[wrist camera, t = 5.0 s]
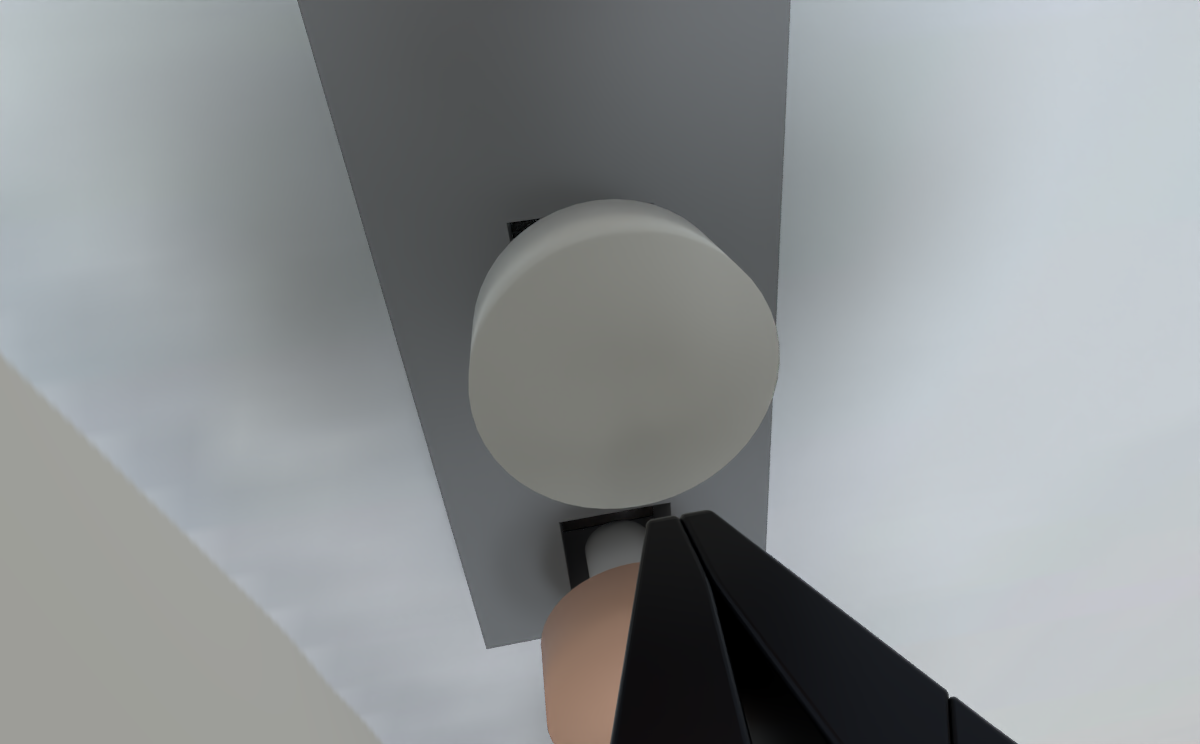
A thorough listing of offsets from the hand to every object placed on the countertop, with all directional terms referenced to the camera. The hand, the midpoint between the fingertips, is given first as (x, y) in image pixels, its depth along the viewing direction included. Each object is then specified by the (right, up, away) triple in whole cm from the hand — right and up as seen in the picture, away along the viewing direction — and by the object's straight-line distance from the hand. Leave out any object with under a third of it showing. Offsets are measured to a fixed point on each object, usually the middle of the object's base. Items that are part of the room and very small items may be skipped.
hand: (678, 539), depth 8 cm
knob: (0, -3, +10) cm, 11 cm away
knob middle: (-1, +4, +6) cm, 8 cm away
